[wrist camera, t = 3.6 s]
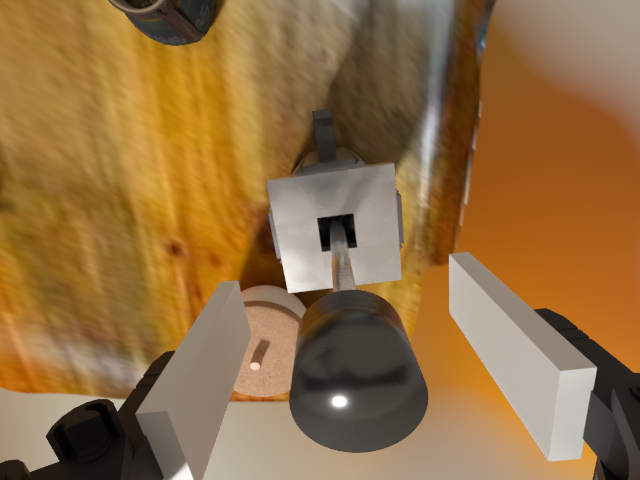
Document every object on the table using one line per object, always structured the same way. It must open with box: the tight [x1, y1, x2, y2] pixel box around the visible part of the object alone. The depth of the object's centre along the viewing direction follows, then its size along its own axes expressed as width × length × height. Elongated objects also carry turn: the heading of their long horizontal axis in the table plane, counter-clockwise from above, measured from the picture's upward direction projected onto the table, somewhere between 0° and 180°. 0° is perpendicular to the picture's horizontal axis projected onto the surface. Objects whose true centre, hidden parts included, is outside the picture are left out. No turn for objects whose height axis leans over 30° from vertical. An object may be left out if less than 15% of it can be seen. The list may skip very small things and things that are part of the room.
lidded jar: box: [233, 285, 307, 397], centre depth 34 cm, size 11×11×9 cm
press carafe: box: [266, 109, 404, 293], centre depth 27 cm, size 12×9×13 cm
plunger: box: [289, 213, 428, 453], centre depth 17 cm, size 6×6×18 cm
